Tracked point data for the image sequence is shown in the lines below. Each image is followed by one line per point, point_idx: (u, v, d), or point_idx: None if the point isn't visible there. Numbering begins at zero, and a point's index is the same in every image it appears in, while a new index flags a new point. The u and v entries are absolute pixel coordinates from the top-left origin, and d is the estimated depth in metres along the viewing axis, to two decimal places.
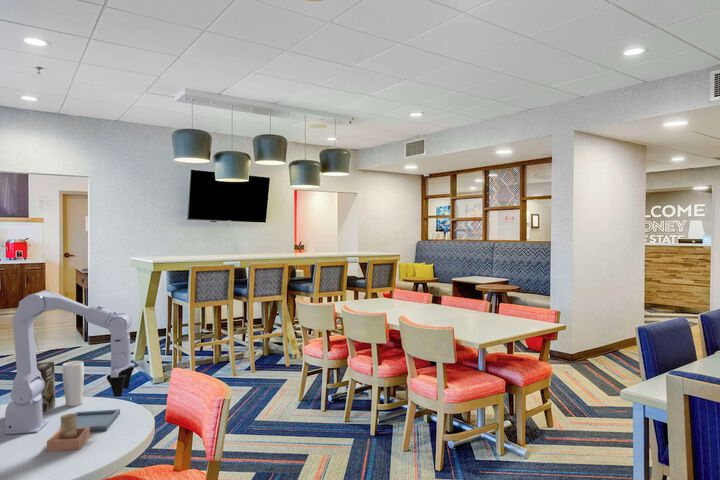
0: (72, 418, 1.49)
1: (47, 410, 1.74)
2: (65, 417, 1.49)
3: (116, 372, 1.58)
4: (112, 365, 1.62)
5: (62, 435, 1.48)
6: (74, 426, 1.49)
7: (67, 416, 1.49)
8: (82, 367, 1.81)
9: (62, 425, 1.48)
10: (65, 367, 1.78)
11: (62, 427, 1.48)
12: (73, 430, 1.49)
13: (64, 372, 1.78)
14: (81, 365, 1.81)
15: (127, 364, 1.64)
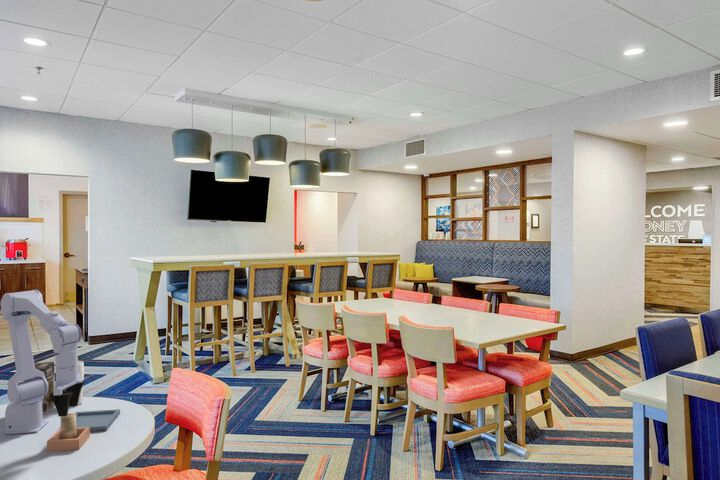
0: (72, 418, 1.49)
1: (47, 410, 1.74)
2: (65, 417, 1.49)
3: (59, 389, 1.42)
4: (57, 381, 1.47)
5: (62, 435, 1.48)
6: (74, 426, 1.49)
7: (67, 416, 1.49)
8: (82, 367, 1.81)
9: (62, 425, 1.48)
10: None
11: (62, 427, 1.48)
12: (73, 430, 1.49)
13: None
14: (81, 365, 1.81)
15: (74, 380, 1.48)
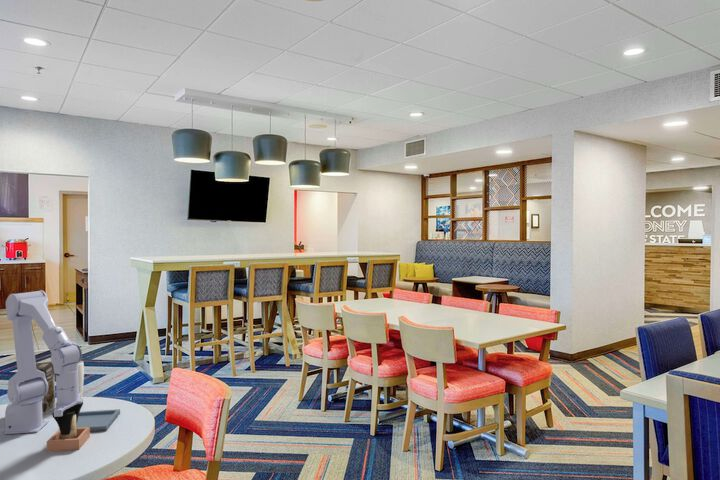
0: (72, 418, 1.49)
1: (47, 410, 1.74)
2: None
3: (60, 411, 1.42)
4: (57, 402, 1.47)
5: (62, 435, 1.48)
6: (74, 426, 1.49)
7: None
8: (82, 367, 1.81)
9: None
10: None
11: None
12: (73, 430, 1.49)
13: None
14: (81, 365, 1.81)
15: (74, 400, 1.48)
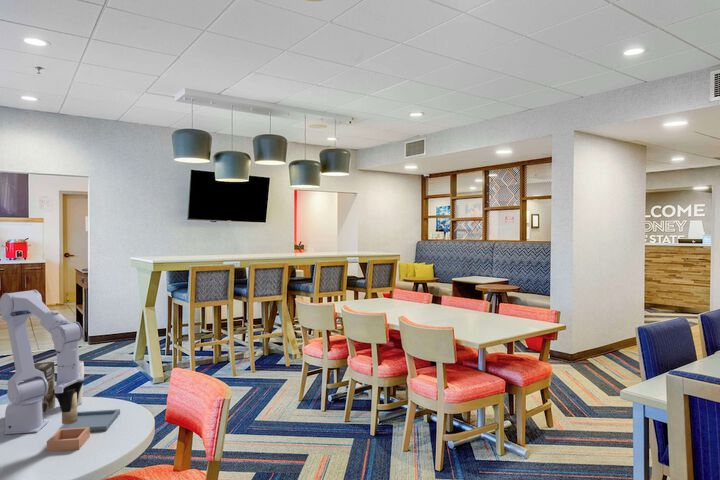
0: (73, 396, 1.49)
1: (47, 410, 1.74)
2: None
3: (60, 387, 1.43)
4: (58, 379, 1.48)
5: (63, 412, 1.49)
6: (75, 404, 1.50)
7: None
8: (82, 367, 1.81)
9: None
10: None
11: None
12: (74, 407, 1.50)
13: None
14: (81, 365, 1.81)
15: (75, 378, 1.49)
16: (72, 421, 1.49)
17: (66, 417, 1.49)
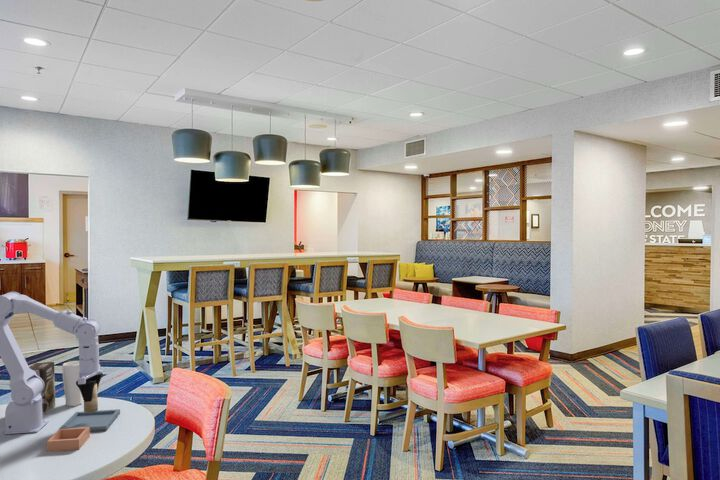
0: (94, 387, 1.64)
1: (47, 410, 1.74)
2: None
3: (83, 379, 1.57)
4: (80, 372, 1.62)
5: (85, 402, 1.63)
6: (95, 394, 1.64)
7: None
8: None
9: None
10: (65, 367, 1.78)
11: None
12: (95, 397, 1.64)
13: (64, 372, 1.78)
14: None
15: (95, 370, 1.63)
16: (93, 410, 1.64)
17: (88, 406, 1.63)
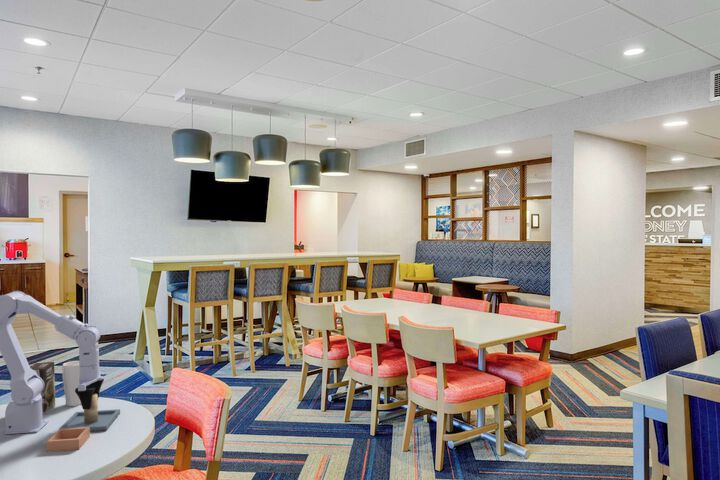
0: (94, 397, 1.64)
1: (47, 410, 1.74)
2: None
3: (83, 386, 1.57)
4: (80, 378, 1.62)
5: (85, 413, 1.63)
6: (96, 405, 1.65)
7: None
8: None
9: None
10: (65, 367, 1.78)
11: None
12: (95, 408, 1.64)
13: (64, 372, 1.78)
14: None
15: (96, 377, 1.63)
16: (93, 421, 1.64)
17: (88, 417, 1.63)
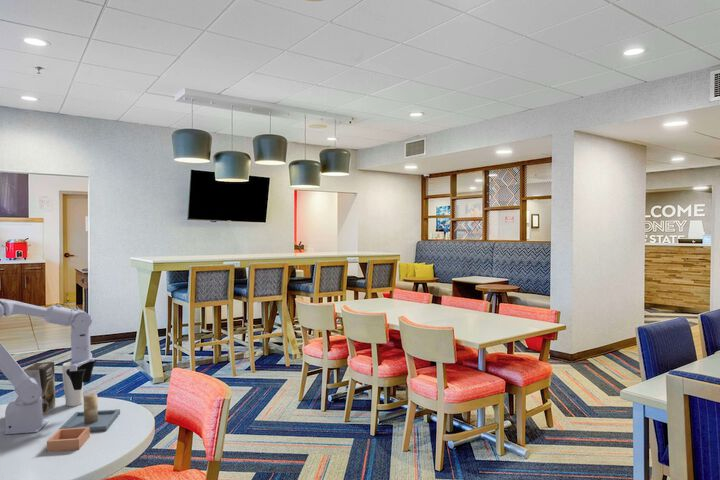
0: (94, 397, 1.64)
1: (47, 410, 1.74)
2: (87, 397, 1.64)
3: (75, 366, 1.63)
4: (72, 359, 1.68)
5: (85, 413, 1.63)
6: (96, 405, 1.64)
7: (89, 396, 1.64)
8: None
9: (85, 404, 1.63)
10: (65, 367, 1.78)
11: (85, 406, 1.63)
12: (95, 408, 1.64)
13: (64, 372, 1.78)
14: None
15: (87, 358, 1.69)
16: (93, 421, 1.64)
17: (88, 417, 1.63)
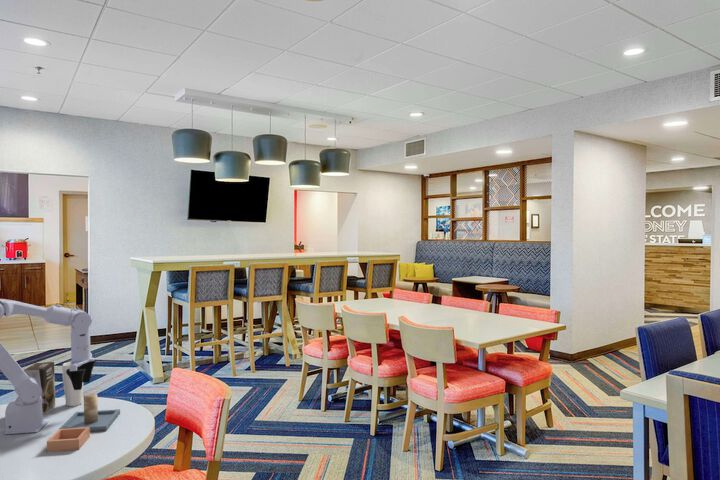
0: (94, 397, 1.64)
1: (47, 410, 1.74)
2: (87, 397, 1.64)
3: (75, 366, 1.63)
4: (72, 359, 1.68)
5: (85, 413, 1.63)
6: (96, 405, 1.64)
7: (89, 396, 1.64)
8: None
9: (85, 404, 1.63)
10: (65, 367, 1.78)
11: (85, 406, 1.63)
12: (95, 408, 1.64)
13: (64, 372, 1.78)
14: None
15: (87, 358, 1.69)
16: (93, 421, 1.64)
17: (88, 417, 1.63)
